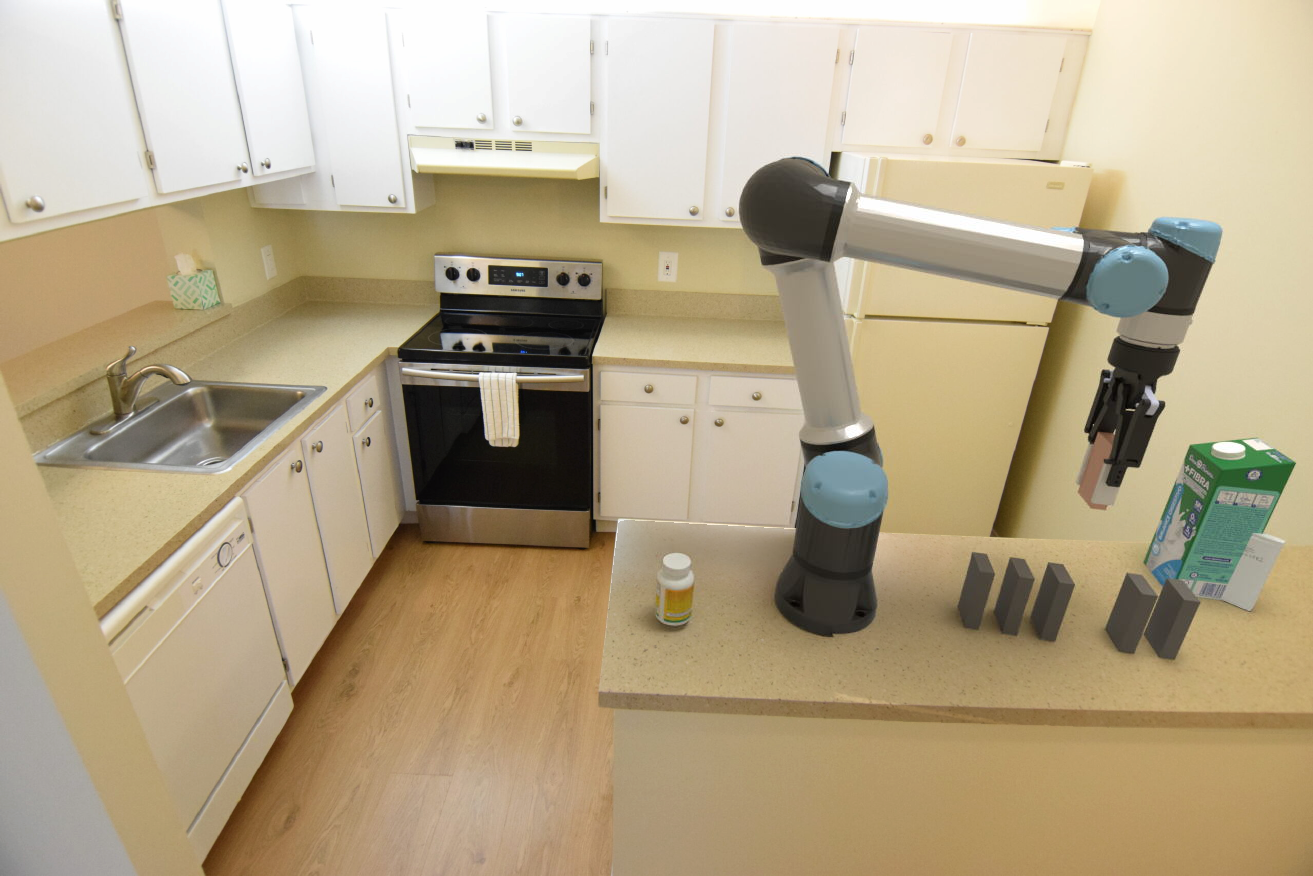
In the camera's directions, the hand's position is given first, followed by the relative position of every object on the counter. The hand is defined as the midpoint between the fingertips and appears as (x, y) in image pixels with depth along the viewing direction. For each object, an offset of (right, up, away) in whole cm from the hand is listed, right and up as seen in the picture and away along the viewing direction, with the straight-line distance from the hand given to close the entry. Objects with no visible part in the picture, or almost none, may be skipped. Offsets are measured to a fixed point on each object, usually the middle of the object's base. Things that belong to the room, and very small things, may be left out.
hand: (1093, 493), depth 101 cm
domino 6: (+8, -22, -2) cm, 23 cm away
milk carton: (+23, -16, +13) cm, 31 cm away
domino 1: (-18, -19, +2) cm, 26 cm away
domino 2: (-13, -19, +1) cm, 23 cm away
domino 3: (-7, -20, 0) cm, 21 cm away
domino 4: (0, -1, +1) cm, 1 cm away
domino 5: (+3, -21, -1) cm, 21 cm away
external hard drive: (+25, -17, +9) cm, 32 cm away
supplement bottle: (-62, -18, 0) cm, 64 cm away
